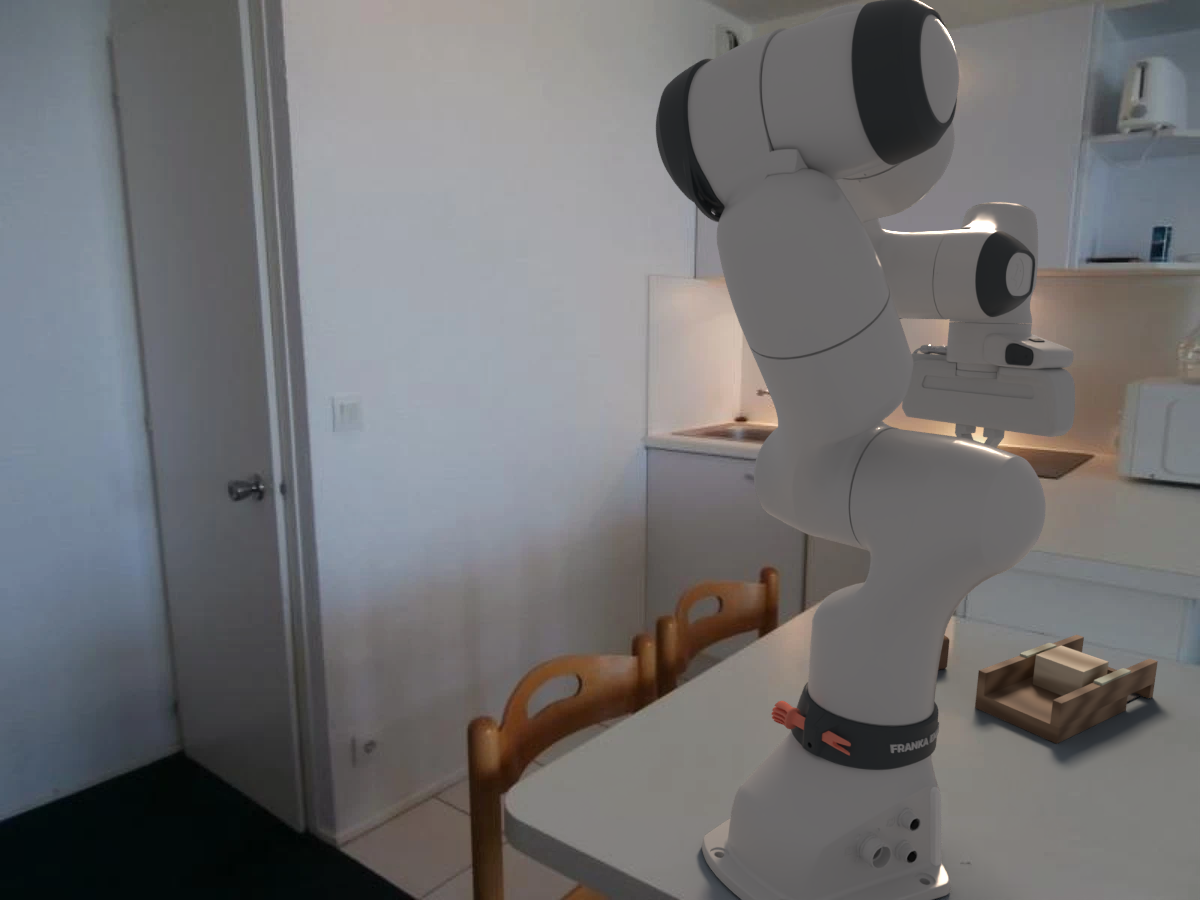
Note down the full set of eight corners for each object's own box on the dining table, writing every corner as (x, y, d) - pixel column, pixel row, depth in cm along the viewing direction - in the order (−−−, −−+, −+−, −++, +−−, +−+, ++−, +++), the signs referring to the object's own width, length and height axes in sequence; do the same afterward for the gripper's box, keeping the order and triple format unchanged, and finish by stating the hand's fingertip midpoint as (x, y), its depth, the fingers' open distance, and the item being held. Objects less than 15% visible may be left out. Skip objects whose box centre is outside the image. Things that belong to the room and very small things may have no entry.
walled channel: (1056, 743, 98) (1061, 701, 97) (974, 707, 107) (978, 668, 106) (1152, 697, 111) (1158, 659, 110) (1072, 668, 119) (1076, 632, 118)
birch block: (1079, 702, 104) (1083, 672, 104) (1032, 684, 109) (1036, 654, 109) (1104, 691, 108) (1108, 661, 107) (1058, 673, 113) (1061, 645, 112)
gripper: (896, 343, 106) (887, 452, 109) (1057, 353, 90) (1043, 481, 92) (927, 343, 110) (918, 448, 112) (1089, 352, 93) (1074, 476, 95)
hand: (976, 463), depth 102 cm, fingers closed
